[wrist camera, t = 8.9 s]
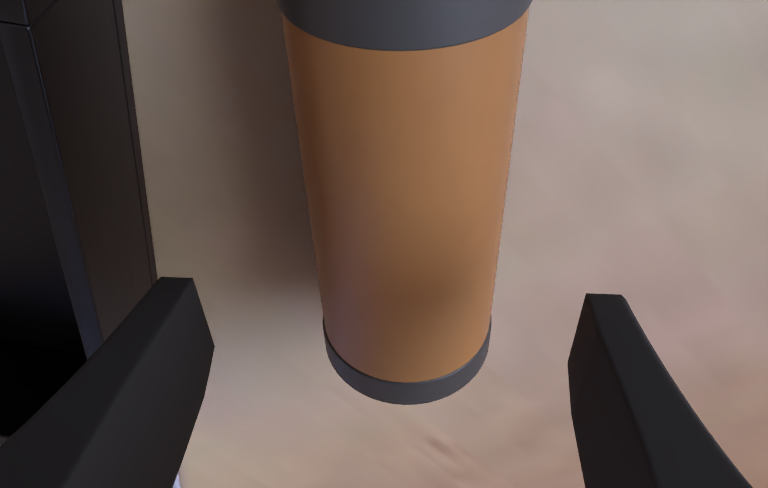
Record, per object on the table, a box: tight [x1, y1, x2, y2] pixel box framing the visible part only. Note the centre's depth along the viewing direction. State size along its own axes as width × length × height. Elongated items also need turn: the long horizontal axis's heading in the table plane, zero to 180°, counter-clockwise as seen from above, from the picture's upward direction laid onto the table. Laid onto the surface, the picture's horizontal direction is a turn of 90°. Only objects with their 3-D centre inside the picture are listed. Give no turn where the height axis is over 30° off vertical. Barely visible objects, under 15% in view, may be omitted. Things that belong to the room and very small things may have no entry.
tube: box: [277, 0, 532, 405], centre depth 15 cm, size 11×5×5 cm, turn 2°
